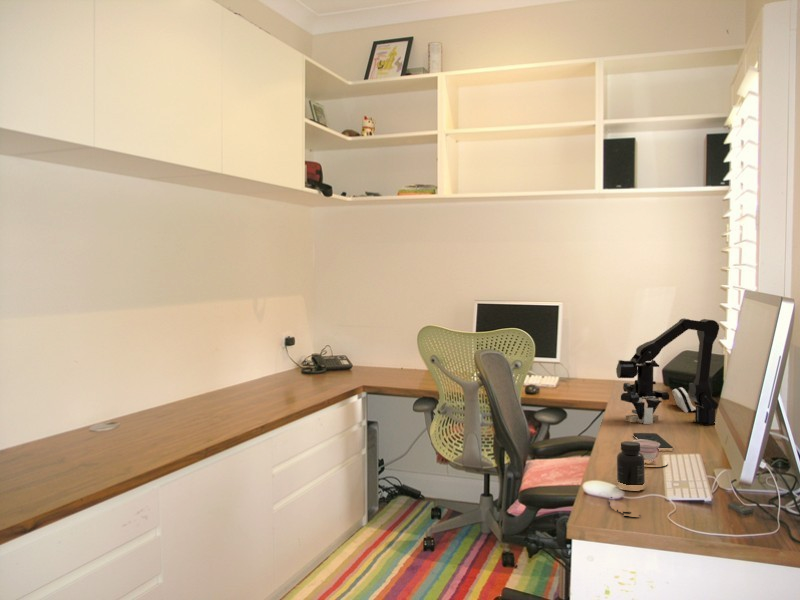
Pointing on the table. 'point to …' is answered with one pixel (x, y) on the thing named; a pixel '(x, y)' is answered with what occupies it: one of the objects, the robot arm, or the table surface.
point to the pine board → (634, 417)
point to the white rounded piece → (683, 400)
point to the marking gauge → (645, 415)
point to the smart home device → (653, 439)
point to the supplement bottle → (630, 464)
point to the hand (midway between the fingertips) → (644, 418)
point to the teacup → (648, 448)
